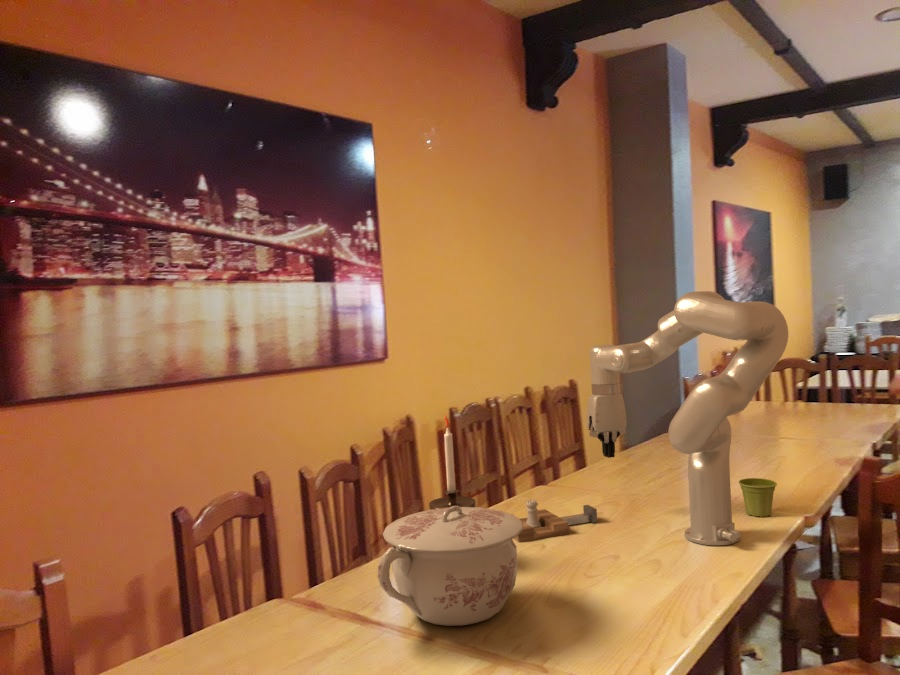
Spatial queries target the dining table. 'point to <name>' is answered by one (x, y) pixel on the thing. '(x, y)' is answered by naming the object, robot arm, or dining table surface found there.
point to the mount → (547, 519)
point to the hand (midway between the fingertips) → (608, 456)
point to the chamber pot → (452, 563)
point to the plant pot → (758, 495)
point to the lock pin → (582, 516)
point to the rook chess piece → (532, 514)
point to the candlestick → (450, 480)
